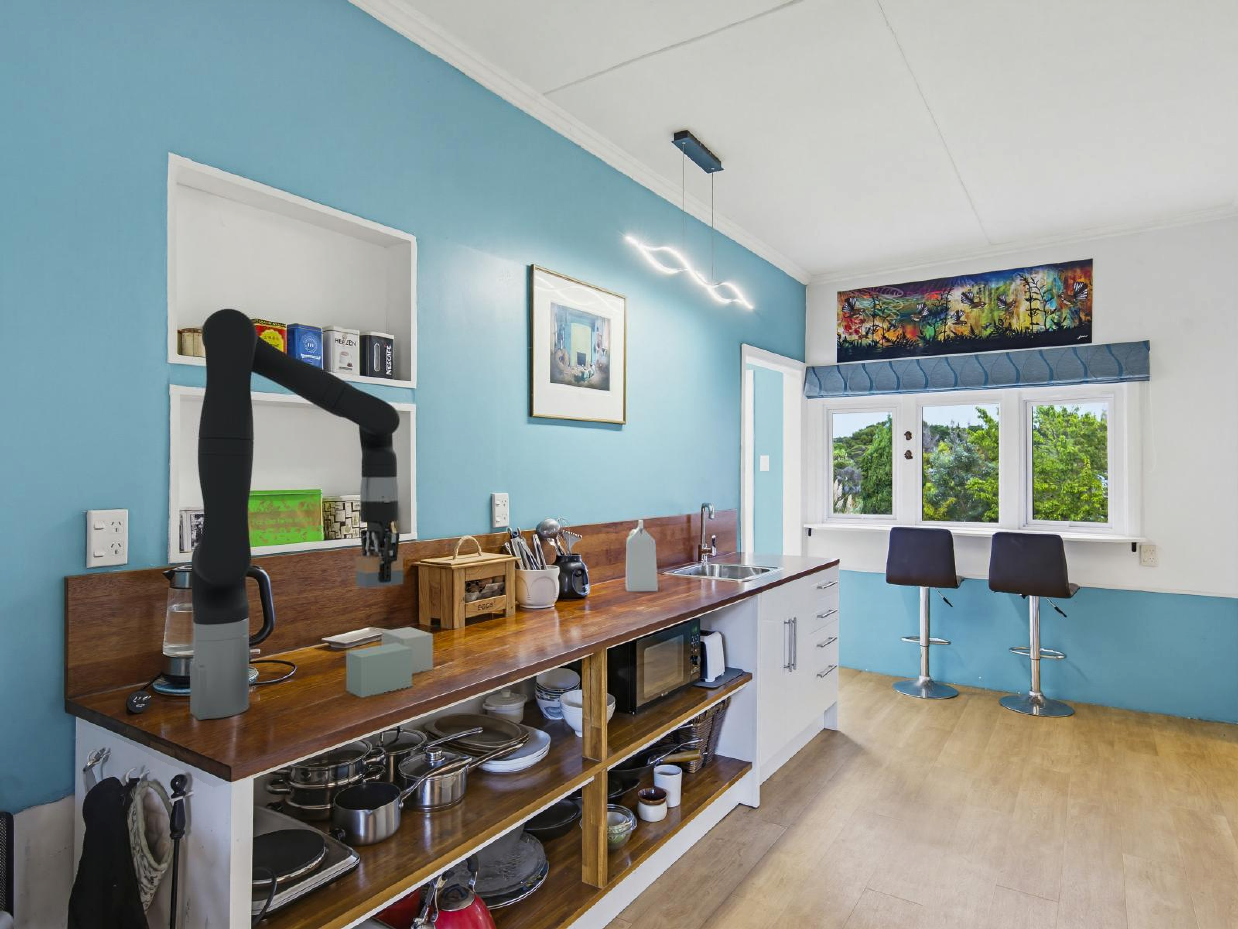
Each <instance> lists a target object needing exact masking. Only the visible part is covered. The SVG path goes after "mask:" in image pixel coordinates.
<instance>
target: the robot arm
mask: <svg viewBox="0 0 1238 929" xmlns="http://www.w3.org/2000/svg"><path fill="white" fill-rule="evenodd" d="M201 341H202V345H203V347H204V354H205V356H204V357H205V371H206V382H205V389H204V391H205V392H204V396H203V399H202V400H203V402H202V407H201V412H200V417H199V418H200V419H199V427H198V438H197V439H198V442H197V467H198V468H197V470H198V479H199V485H200V491H201V497H202V504H203V518H202V519H203V522H202V527H201V528H202V530H201V537H200V541H199V542H198V543H197V544H196V546H195V547H194V549H193V550H192V554H191V562H190V563H191V565H190V566H191V568H190V569H191V571H190V572H191V573H190V574H191V606H192V613H193V616H192V618H193V661H191V662H189V663H190V664H189V675H190V676H189V678H190V680H189V686H190V687H189V701H190V702H189V705H190V706H189V707H190V708H189V709H190V710H189V712H190V714H191V715H192V716H193V717H195V718H196V719H197V720H198V721H202V720H208V719H222V718H228V717H233V716H235V715H239V714H241V713H243V712H246V711H247V710H248V709H250V639H249V638H250V606H249V605H250V604H249V601H248V595H247V579H246V578H247V577H246V575H247V573H248V572H249V570H250V567H251V564H252V552H251V541H250V540H251V538H250V529H249V528H250V527H249V526H250V525H249V503H250V502H249V501H250V494H251V486H252V478H253V477H252V476H253V463H254V442H255V441H254V440H255V437H254V436H255V435H254V413H253V400H252V391H251V387H252V386H251V385H252V384H251V382H252V373H255V374H256V375H258V376H261V377H263V378H264V379H267V380H269V381H271V382H274V383H275V384H277V385H278V386H279V385H280V386H282V387H283V388H285V389H287V390H288V391H290V392H292V393H293V394H296V395H297V396H299V397H301V398H302V399H305V400H306V401H308V402H310V403H311V404H313V405H315V406H317V407H318V408H321V409H322V410H324V411H326V412H327V413H330V414H332V415H334V416H336V417H339V418H344V419H346V420H348V421H351V422H352V423H354V424H356V425H358V434H359V442H360V448H361V449H360V450H361V480H360V481H361V483H360V492H359V494H360V495H359V496H360V498H359V499H360V500H359V504H360V506H359V507H360V508H359V509H360V511H359V512H360V514H359V515H360V519H359V520H360V521H361V523H367V527H366V529H361V530H360V542H361V543H360V544H361V550H362V552H361V553H362V556H370V555H373V551H376V553H377V554H378V555H379V561H380V564H381V565H380V582H382V583H386V582H390V581H391V563H393V561H397V556H398V555H399V543H400V537H401V535H400V533H399V532H393V527H392V523H394V522H397V521H398V520H399V486H398V485H399V483H398V477H397V476H398V465H397V464H398V459H397V454H396V452H395V450H394V447H393V446H394V444H393V443H394V442H393V434H394V433H395V432H396V430H398V428H399V426H400V423H401V422H400V418H401V417H400V414H399V412H398V411H397V409H396V408H395V407H394V406H393V405H392V404H390V403H389V402H387V401H385V400H383V399H382V398H381V399H380V398H379V397H377V396H374V395H372V394H370V393H367V392H366V391H363V390H361V389H358V388H356V387H355V386H353V385H352V384H350V383H348V382H346V381H345V380H343V379H342V378H339V377H338V376H337V375H334V374H332V373H331V372H329V371H327V370H325V369H323V368H321V367H318V366H316V365H313V364H312V363H309V362H306V361H304V360H301V359H299V358H296V357H294V356H292V355H290V354H288V353H286V352H284V351H282V350H280V349H279V348H277V347H275V346H273V345H272V344H270V343H269V342H268V341H266V340H265V339H264V338H262V337H261V336H259V335H258V332H257V328H256V326H255V324H254V322H253V321H252V319H251V318H250V317H249V316H248V315H246V314H245V313H244V312H242V311H240V310H237V309H235V308H234V309H233V308H223V309H220V310H217V311H215V312H213V313H212V314H210V315H209V317H207V318H206V319H205V321H204V323H203V326H202V330H201ZM383 553H384V557H383ZM392 554H393V555H392Z"/></svg>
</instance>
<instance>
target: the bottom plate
mask: <svg viewBox="0 0 1238 929" xmlns="http://www.w3.org/2000/svg"><path fill="white" fill-rule="evenodd" d="M398 585H404V569H403V570H396V571H391V581H390V582H386V583H382V582H380V572H376V573H362V572H358V571H356V570H355V586H356V587H360V588H363V589H370V588H371V589H373V588H381V587H391V586H398Z"/></svg>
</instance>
